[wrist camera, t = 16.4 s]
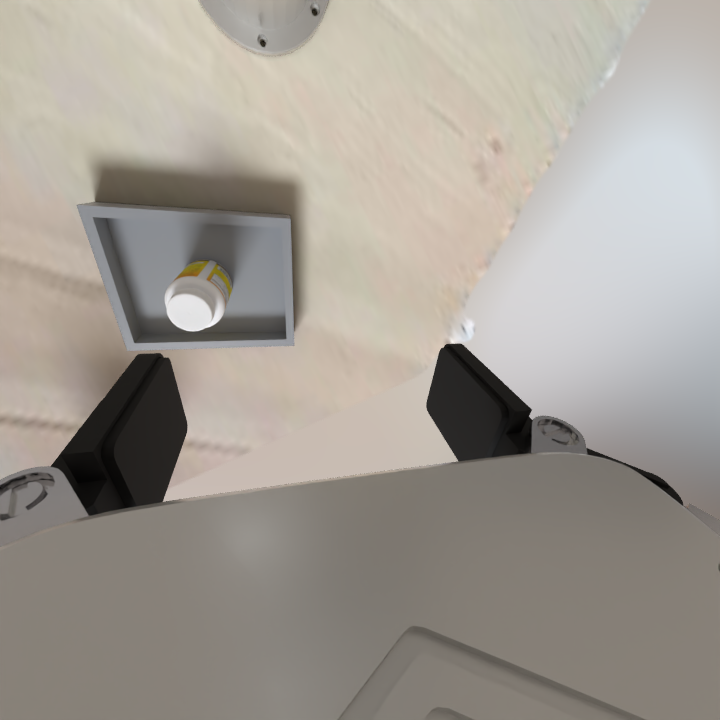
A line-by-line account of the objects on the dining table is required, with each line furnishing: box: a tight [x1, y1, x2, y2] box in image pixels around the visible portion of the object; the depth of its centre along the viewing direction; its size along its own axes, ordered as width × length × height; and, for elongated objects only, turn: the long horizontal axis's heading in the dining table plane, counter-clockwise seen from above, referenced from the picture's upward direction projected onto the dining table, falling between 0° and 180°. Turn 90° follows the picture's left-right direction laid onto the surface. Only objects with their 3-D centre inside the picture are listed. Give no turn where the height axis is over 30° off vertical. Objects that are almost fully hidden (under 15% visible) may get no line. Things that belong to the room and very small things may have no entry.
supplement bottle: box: [165, 259, 233, 331], centre depth 33 cm, size 6×6×10 cm
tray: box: [77, 202, 294, 351], centre depth 37 cm, size 16×20×4 cm
